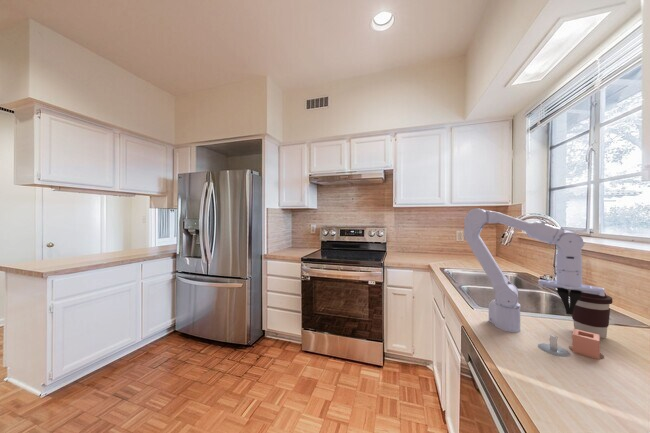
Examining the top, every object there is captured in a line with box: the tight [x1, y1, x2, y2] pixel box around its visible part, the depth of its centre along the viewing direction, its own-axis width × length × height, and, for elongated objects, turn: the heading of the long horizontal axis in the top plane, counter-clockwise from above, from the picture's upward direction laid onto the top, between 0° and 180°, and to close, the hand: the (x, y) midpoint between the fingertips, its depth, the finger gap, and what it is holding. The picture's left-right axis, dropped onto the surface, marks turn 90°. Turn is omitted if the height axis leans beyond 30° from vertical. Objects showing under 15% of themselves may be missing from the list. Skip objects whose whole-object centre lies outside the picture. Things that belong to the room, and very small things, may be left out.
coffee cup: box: [569, 290, 613, 339], centre depth 81 cm, size 10×10×15 cm
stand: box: [537, 334, 571, 358], centre depth 71 cm, size 7×7×5 cm
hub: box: [568, 344, 605, 360], centre depth 70 cm, size 7×7×5 cm
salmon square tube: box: [571, 328, 601, 360], centre depth 70 cm, size 5×5×5 cm
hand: (569, 313), depth 76 cm, fingers closed
